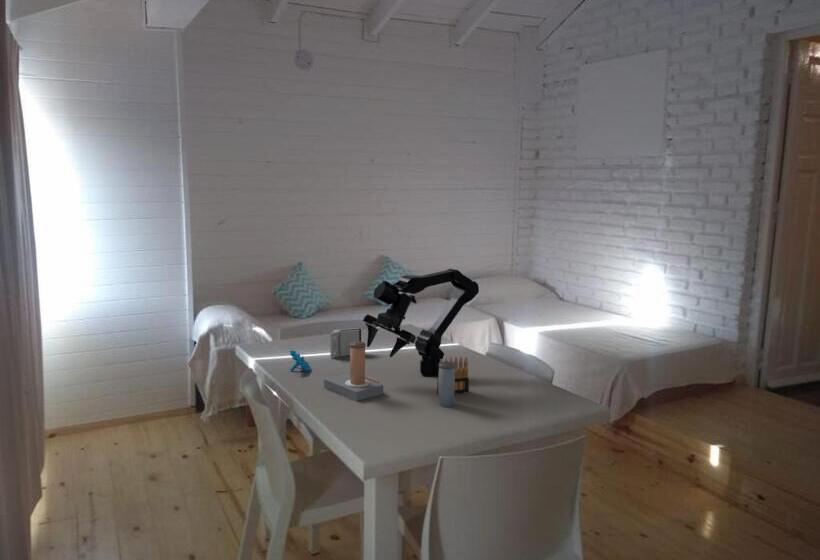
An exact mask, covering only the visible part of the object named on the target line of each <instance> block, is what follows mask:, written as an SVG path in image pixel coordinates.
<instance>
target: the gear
mask: <svg viewBox="0 0 820 560" xmlns="http://www.w3.org/2000/svg"><path fill="white" fill-rule="evenodd" d="M289 352H290V353H289V354H290V356H291V358H292V360H293V361H295V364H294V365H292V367H291V368H290V369H289V370H290V371H291V372H293V371H294V370H295V369H296V368H297V367H299V366H300V368H301V369H302V370H305V372H311V371H312V369H311V368H312V367H311V366H310V364H309V362H308V361H306V358H305V356H304V355H302V356H301V354H300V353H299V352H298V353H297V352H296V350H293V349H291V350H290V351H289Z"/></svg>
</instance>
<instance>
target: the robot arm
mask: <svg viewBox="0 0 820 560" xmlns="http://www.w3.org/2000/svg"><path fill="white" fill-rule="evenodd" d="M445 283H450V284H451V285H452V286H453V287H454V289H453V292H452V298H451V299H450V301H449V302H447V304H446V306H445V307H444V309H443V310H442V312H441V313H440V314H439V316H438V317H437V319H436V320H435V321H434V322H433V325H432V326H431V327H430V328H429V329H427V330H426V329H424V328H422V330H421V331H420V332H419V334H418V336H416V335H415V334H413V333H412V332H410V331H407V330H405V329H403V328H402V330H401V325H402V322H403V320H404V321H405V320H406V314H407V312H408V309H409V307H410V305H411V304H412V303H413V304H417V299H416V294H418V293H421V292H422V291H424V290H425V289H427V288H429V287H433V286H437V285H438V286H439V285H442V284H445ZM479 292H480V287H479V284H478V283H477V281H474V280H472V279H470V278H469V277H467V276H466V275H465V274H463V273H462V272H461V271H460V270H458V269H455V268H449V269H446V270H441V271H436V272H432V273H427V274H424V275H417V274H416V275H415V274H413V275H412V274H411V275H410V274H407V275H403V276H401V277H400V278H399V280H397V282H395V283H393V284H392V283H390V282H389V281H387V280H384V279H383V280H382V281H381V283H379V284H378V285H377V286H376V287H375V288H374V290H373V298H374V299H376V300H378V301H380V302H382V303H384V304H386V305H387V306H388V305H390V307H389V308H387V309H386V311H385V312H380V313H377V317H375V316H373V315H370V314H368V313H367V314H365V316H364V317H363V319H362V321H363V322H364V323H365V324H364V325H365V326H366V327H367V342H366V347H367V348H369V347H371V346H372V343H373V341H374V339H375V338H376V335H377V333H378V331H379V329H378V328H380V329H384V330H385V331H388V332H389V333H392V334H395V335H397V336H398V337H396V342H395V343H394V346H393V348H392V349H391V352H390V354H389V358H393V356H394V355H396V353H398V352H399V351H400V350H401V349H402V348H404V347H405V346H406V345H410V344H414V347H415V350H416V351H417V353H418V355H419V356H420V357H421V359H420V360H419V372H420V374H421V375H422V377H438V372H439V363H440V359H442V360H443V359H444V356H445V352H444V351H443V350H442V349H441V348H440V346H441V344H442V337H443V335H444V334H445V333H446V331H447V330H448V328H449V327H450V325H451V324H452V322H453V321H454V320H455V319H456V317H457V315H458V313H460V311H461V310H462V308H463V307H464V305H466V304H467V303H470V302H471V301H472V300H473V299H475V297H477V295H478V294H479ZM409 294H410V295H409Z"/></svg>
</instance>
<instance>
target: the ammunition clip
mask: <svg viewBox="0 0 820 560" xmlns="http://www.w3.org/2000/svg"><path fill="white" fill-rule="evenodd" d="M463 361H464V362H463ZM440 362H443V359H440ZM444 362H453V363H455V393H459V394H465V393H464V392H468V393H469V392H470V391H469V390H470V389H469V388H470V387H469V386H470V385H469V383H470V382H469V365H468V363H469V362H468V357H467V356H465V357H464V360H463V358H462V356H460V357H459V360H458V358H457V357H455V358H454V361H453V358H452V357H450V359H449V361H448V359H447V357H446V358H445V359H444ZM436 395H438V396H439V372H438V376H437V387H436Z"/></svg>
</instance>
